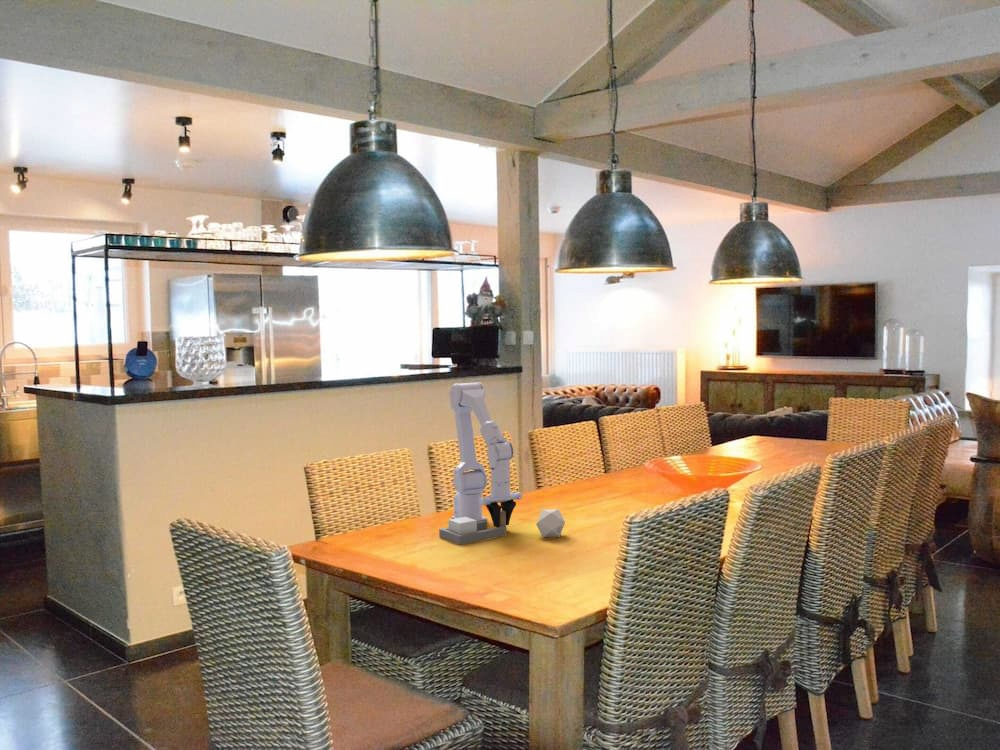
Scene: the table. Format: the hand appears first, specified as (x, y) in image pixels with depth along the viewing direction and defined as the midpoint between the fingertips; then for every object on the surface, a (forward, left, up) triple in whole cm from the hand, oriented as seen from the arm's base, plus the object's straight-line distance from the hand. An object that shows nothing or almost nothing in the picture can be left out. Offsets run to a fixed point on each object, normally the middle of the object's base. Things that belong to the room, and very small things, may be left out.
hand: (501, 525), depth 265 cm
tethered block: (0, -8, -2) cm, 8 cm away
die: (+14, +8, -2) cm, 16 cm away
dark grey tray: (0, -10, -2) cm, 10 cm away
